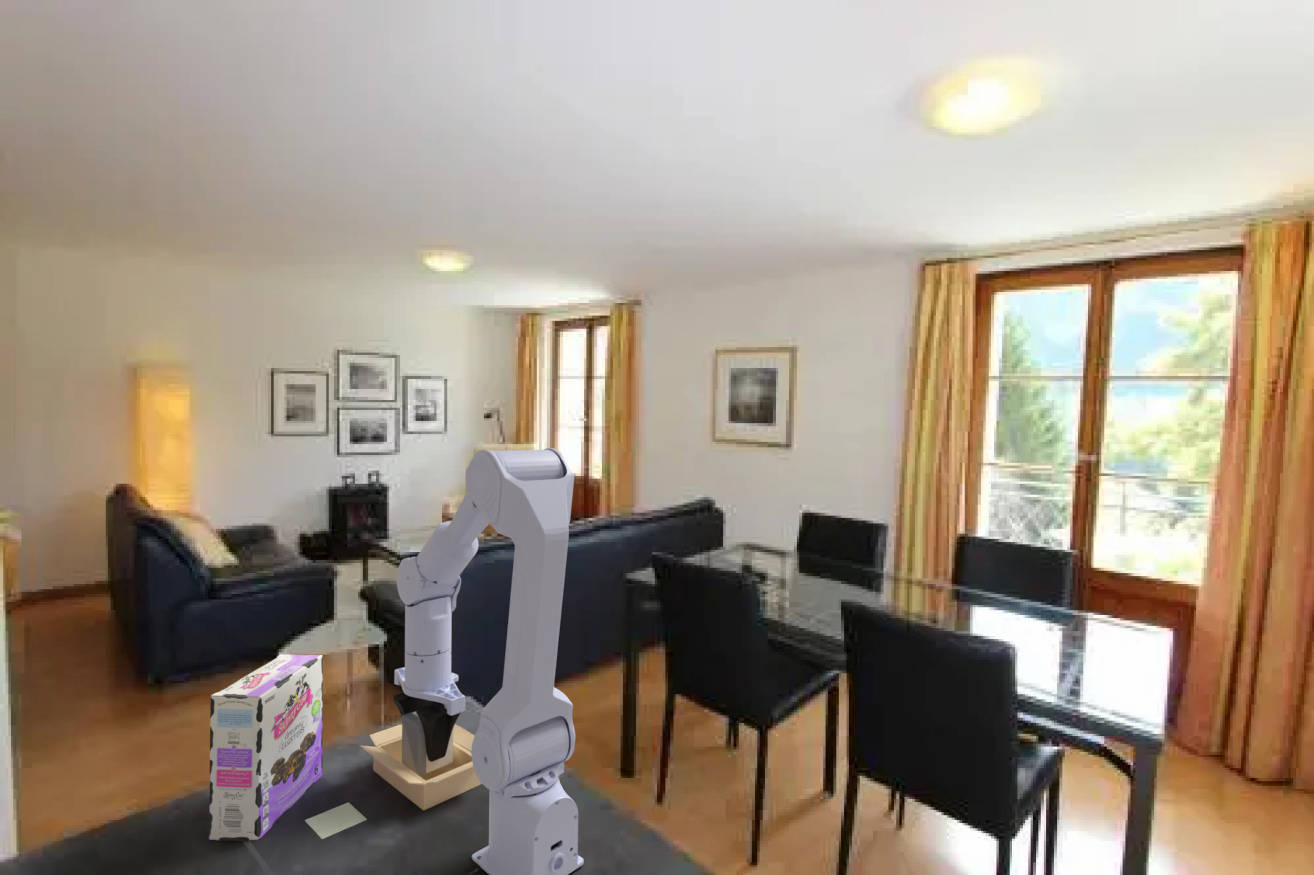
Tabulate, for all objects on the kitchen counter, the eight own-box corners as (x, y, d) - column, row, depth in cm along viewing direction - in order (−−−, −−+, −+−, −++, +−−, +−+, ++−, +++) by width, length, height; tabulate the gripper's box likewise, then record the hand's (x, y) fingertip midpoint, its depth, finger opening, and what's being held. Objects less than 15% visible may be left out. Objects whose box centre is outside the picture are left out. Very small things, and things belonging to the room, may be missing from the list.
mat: (366, 822, 77) (367, 819, 77) (322, 842, 73) (322, 838, 73) (348, 805, 80) (348, 802, 80) (304, 823, 77) (304, 820, 77)
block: (436, 751, 89) (437, 703, 89) (453, 762, 87) (453, 712, 87) (401, 765, 86) (402, 715, 86) (417, 777, 83) (418, 725, 83)
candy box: (259, 844, 73) (259, 696, 72) (206, 842, 73) (206, 695, 73) (324, 777, 87) (325, 652, 86) (280, 775, 87) (280, 651, 86)
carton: (435, 742, 96) (435, 712, 96) (503, 786, 85) (503, 752, 85) (353, 773, 88) (353, 740, 87) (416, 826, 76) (417, 789, 76)
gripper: (486, 654, 84) (485, 760, 84) (428, 629, 94) (427, 724, 94) (435, 669, 79) (435, 781, 79) (379, 641, 89) (379, 741, 89)
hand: (427, 752), depth 86 cm, fingers closed on block, 4 cm apart
